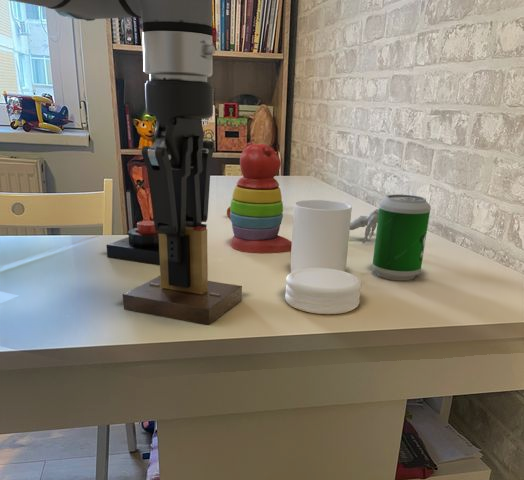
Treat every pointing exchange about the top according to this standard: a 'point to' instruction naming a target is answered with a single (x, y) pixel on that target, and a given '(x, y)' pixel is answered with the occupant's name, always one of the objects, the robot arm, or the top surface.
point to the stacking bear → (258, 203)
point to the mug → (320, 234)
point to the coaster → (322, 290)
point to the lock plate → (183, 301)
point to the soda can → (400, 236)
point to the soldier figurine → (366, 223)
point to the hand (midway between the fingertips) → (184, 282)
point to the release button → (146, 227)
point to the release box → (136, 248)
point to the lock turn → (196, 261)
